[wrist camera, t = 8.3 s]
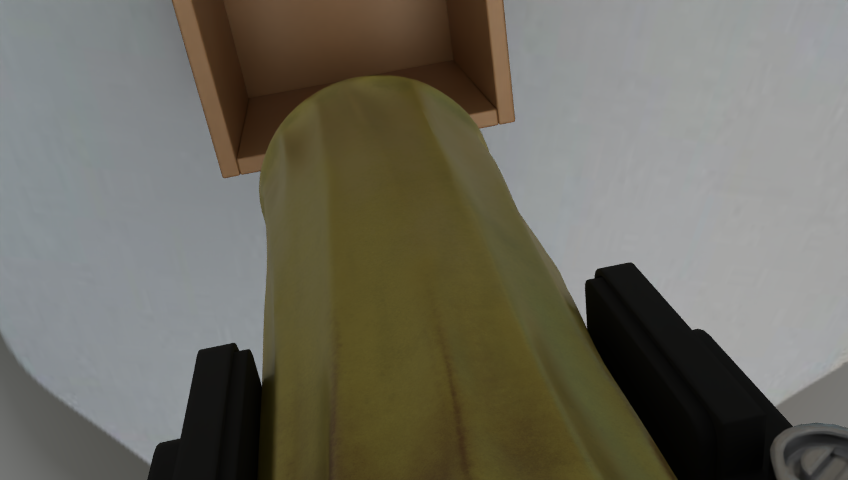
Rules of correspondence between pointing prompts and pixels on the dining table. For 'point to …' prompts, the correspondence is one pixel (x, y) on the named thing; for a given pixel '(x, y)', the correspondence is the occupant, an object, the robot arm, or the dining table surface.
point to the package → (335, 59)
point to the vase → (421, 309)
